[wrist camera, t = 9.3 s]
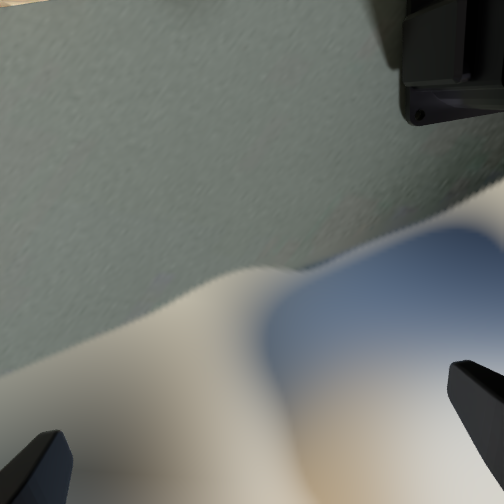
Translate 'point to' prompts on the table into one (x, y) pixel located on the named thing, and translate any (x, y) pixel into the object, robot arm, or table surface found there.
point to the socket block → (16, 2)
